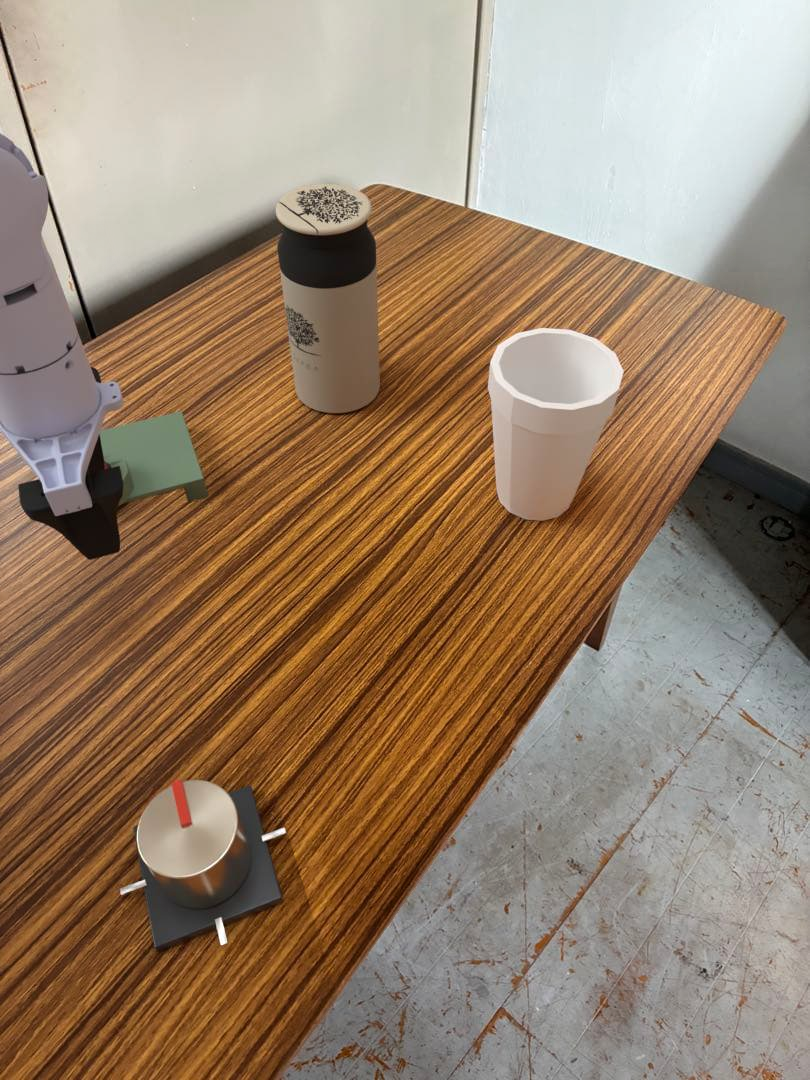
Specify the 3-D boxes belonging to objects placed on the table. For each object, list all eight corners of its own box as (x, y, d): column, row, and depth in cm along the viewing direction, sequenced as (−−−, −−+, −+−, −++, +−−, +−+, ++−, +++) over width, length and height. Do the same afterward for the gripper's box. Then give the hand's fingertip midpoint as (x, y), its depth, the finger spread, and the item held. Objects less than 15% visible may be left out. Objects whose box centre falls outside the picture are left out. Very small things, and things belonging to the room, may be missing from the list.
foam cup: (609, 481, 69) (643, 355, 59) (562, 551, 64) (591, 426, 54) (509, 440, 72) (526, 314, 63) (457, 504, 67) (467, 378, 57)
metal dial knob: (262, 887, 45) (248, 852, 41) (168, 924, 44) (144, 893, 40) (238, 802, 48) (223, 762, 44) (150, 835, 47) (126, 797, 43)
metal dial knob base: (146, 992, 44) (134, 980, 42) (119, 831, 50) (107, 813, 48) (313, 924, 46) (309, 909, 44) (269, 777, 52) (264, 759, 50)
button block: (72, 542, 65) (56, 508, 62) (59, 460, 71) (43, 426, 68) (211, 505, 67) (202, 470, 64) (186, 429, 73) (177, 394, 70)
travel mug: (356, 353, 81) (346, 173, 67) (395, 399, 76) (392, 215, 62) (282, 378, 78) (256, 196, 64) (317, 426, 74) (298, 241, 60)
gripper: (117, 406, 41) (175, 573, 51) (83, 261, 50) (139, 429, 60) (-32, 440, 39) (59, 606, 50) (-39, 284, 48) (39, 452, 58)
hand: (96, 511), depth 55 cm, fingers open, 7 cm apart
